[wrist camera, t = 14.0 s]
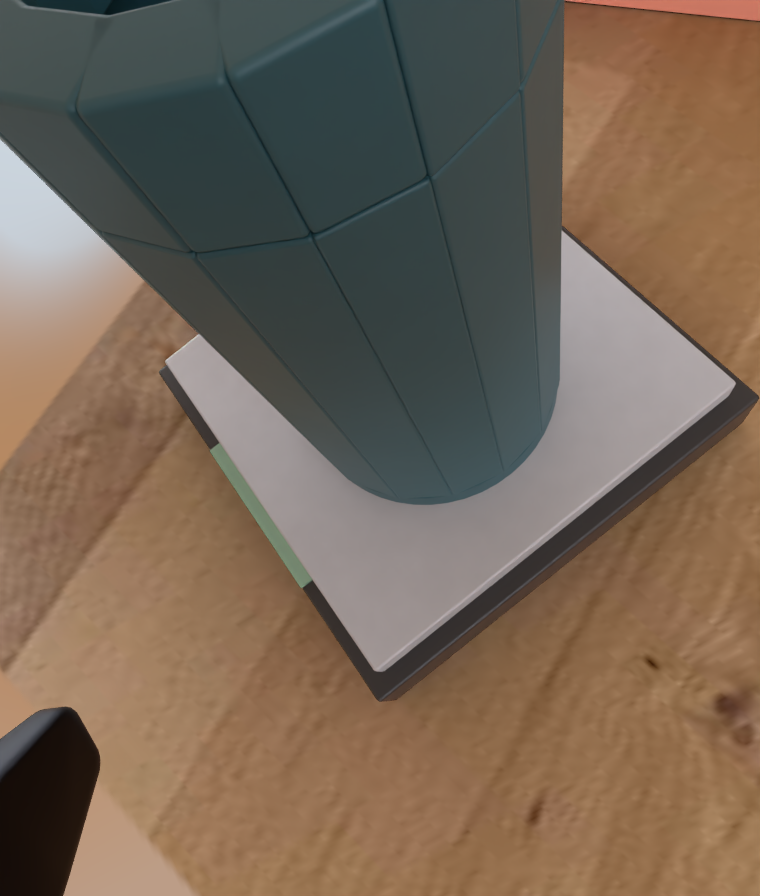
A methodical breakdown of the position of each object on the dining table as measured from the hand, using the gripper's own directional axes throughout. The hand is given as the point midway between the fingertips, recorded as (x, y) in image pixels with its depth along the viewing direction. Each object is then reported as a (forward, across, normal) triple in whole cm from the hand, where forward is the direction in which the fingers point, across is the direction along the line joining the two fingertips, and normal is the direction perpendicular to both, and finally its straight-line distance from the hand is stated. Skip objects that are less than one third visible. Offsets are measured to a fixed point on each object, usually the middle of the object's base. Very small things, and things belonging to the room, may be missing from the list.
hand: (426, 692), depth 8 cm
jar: (+11, 0, 0) cm, 11 cm away
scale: (+13, +1, +2) cm, 14 cm away
